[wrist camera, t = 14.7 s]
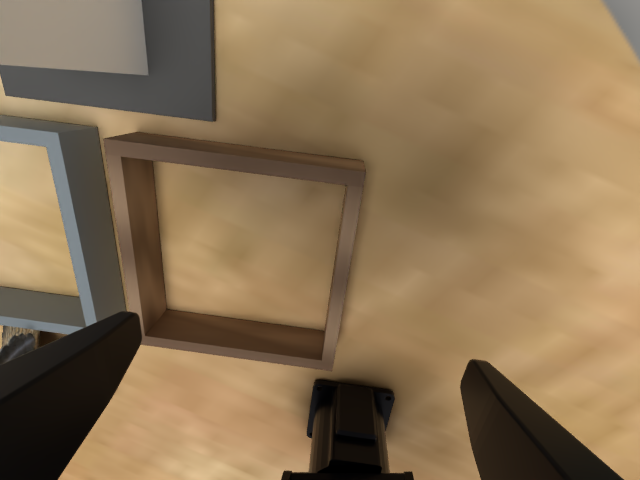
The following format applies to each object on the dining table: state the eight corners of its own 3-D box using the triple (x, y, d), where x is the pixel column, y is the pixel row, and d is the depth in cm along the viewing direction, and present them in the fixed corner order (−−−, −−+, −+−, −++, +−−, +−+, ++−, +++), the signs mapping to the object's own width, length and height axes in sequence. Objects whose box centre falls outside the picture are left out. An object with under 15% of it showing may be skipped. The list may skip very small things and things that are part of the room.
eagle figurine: (127, 387, 28) (53, 312, 23) (35, 475, 23) (-82, 405, 18) (90, 355, 32) (21, 286, 27) (7, 423, 28) (-93, 356, 23)
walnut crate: (333, 340, 25) (332, 371, 23) (157, 316, 26) (134, 343, 23) (363, 160, 20) (365, 172, 17) (136, 131, 20) (103, 138, 17)
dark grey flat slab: (215, 120, 19) (212, 121, 19) (13, 95, 20) (5, 95, 19) (211, -82, 16) (208, -87, 15) (-38, -110, 16) (-49, -116, 15)
